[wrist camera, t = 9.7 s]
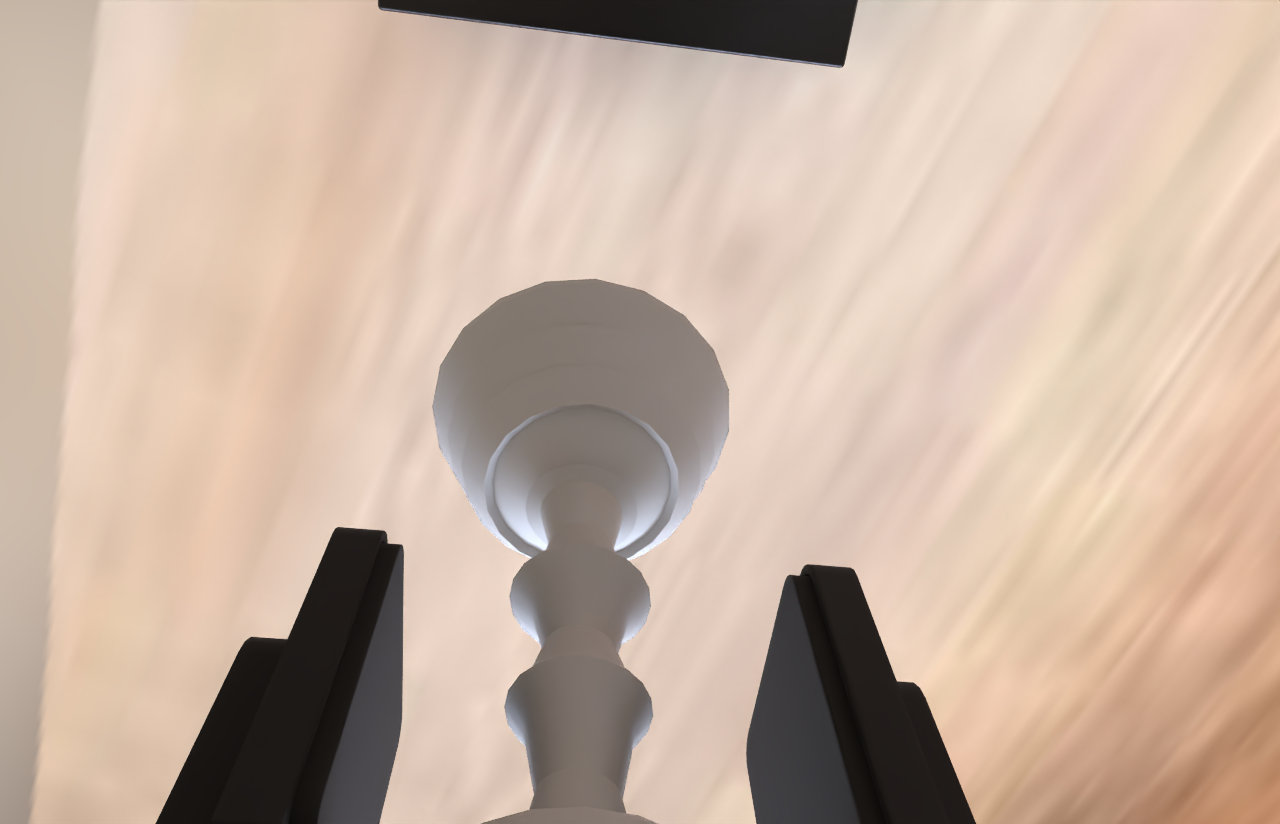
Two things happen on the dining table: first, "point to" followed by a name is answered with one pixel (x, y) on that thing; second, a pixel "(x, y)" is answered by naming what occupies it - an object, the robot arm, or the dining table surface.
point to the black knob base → (673, 23)
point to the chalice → (580, 505)
